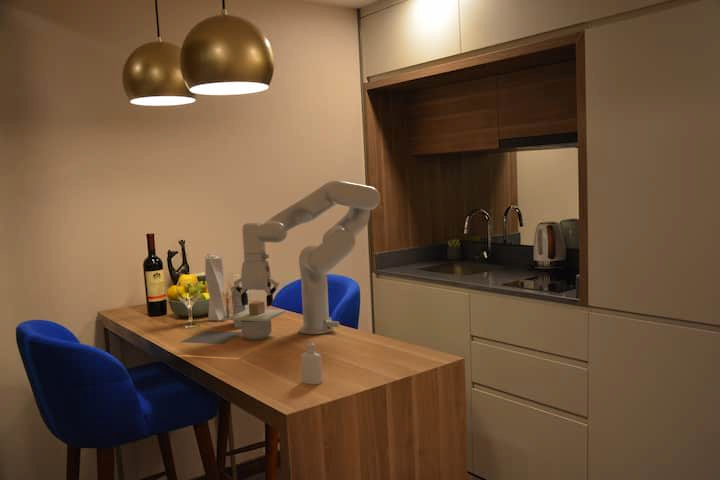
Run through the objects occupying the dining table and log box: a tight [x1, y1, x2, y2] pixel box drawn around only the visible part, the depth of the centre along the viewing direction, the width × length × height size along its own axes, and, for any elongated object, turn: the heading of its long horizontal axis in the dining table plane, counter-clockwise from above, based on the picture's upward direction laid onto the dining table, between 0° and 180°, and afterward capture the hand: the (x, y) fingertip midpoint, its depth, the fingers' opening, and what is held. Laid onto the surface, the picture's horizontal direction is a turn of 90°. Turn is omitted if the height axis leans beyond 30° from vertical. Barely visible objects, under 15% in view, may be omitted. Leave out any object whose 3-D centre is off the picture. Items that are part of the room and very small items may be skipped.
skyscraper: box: [204, 252, 232, 322], centre depth 259 cm, size 8×8×28 cm
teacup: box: [240, 319, 272, 341], centre depth 227 cm, size 14×11×8 cm
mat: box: [180, 330, 243, 345], centre depth 228 cm, size 17×17×1 cm
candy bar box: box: [230, 283, 251, 329], centre depth 246 cm, size 11×5×16 cm, turn 179°
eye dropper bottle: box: [300, 339, 323, 385], centre depth 174 cm, size 4×6×12 cm
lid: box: [227, 300, 286, 321], centre depth 226 cm, size 15×15×5 cm
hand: (257, 305), depth 226 cm, fingers open, 9 cm apart
